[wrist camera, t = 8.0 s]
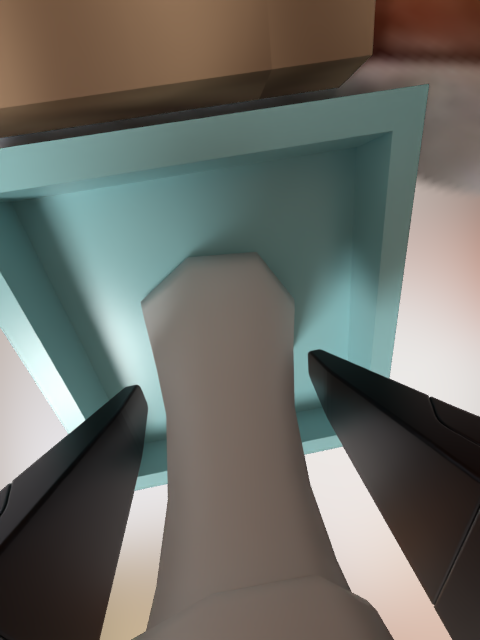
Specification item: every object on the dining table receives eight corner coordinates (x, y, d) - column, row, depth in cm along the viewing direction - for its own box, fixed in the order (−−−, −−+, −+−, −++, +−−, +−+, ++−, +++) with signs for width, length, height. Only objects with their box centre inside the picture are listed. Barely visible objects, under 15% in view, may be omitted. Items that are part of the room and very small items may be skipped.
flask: (268, 221, 10) (880, 306, 1) (311, 355, 13) (549, 691, 4) (111, 289, 10) (-598, 838, 1) (189, 404, 13) (143, 812, 4)
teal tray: (375, 115, 9) (429, 84, 7) (356, 405, 16) (381, 438, 13) (-22, 176, 9) (-105, 164, 6) (123, 453, 15) (108, 496, 13)
